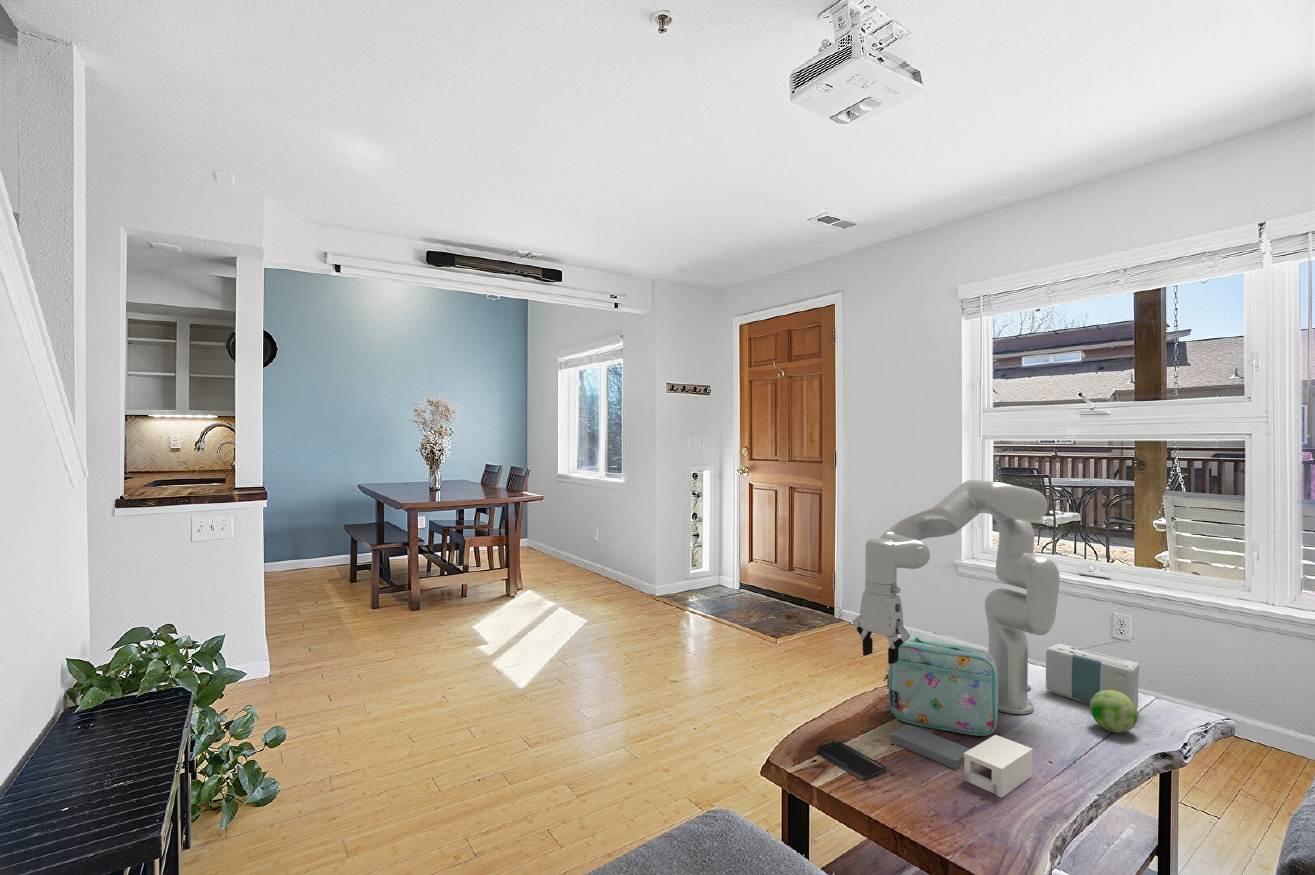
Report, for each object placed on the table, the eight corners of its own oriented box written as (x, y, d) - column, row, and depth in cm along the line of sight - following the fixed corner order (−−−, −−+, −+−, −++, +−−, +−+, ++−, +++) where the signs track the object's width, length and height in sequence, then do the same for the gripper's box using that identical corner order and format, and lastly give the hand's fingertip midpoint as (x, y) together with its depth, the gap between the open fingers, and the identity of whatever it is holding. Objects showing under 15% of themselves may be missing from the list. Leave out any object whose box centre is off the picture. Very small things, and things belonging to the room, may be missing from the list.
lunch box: (881, 721, 167) (882, 639, 167) (887, 706, 176) (888, 628, 176) (997, 745, 154) (998, 656, 154) (997, 727, 164) (998, 643, 163)
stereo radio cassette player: (1044, 693, 185) (1045, 624, 185) (1056, 686, 190) (1057, 619, 189) (1130, 720, 168) (1131, 644, 168) (1141, 712, 173) (1143, 638, 173)
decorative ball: (1140, 730, 162) (1141, 691, 162) (1133, 744, 155) (1133, 703, 155) (1094, 718, 169) (1094, 680, 169) (1085, 730, 162) (1085, 691, 162)
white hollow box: (995, 760, 147) (995, 734, 147) (1032, 776, 141) (1032, 748, 140) (963, 780, 139) (963, 753, 139) (1001, 798, 132) (1002, 769, 132)
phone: (837, 740, 155) (889, 768, 142) (837, 745, 155) (889, 773, 142) (813, 748, 151) (864, 778, 138) (813, 753, 151) (864, 783, 138)
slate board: (909, 734, 161) (909, 724, 161) (973, 760, 148) (973, 750, 148) (891, 743, 156) (891, 734, 156) (955, 771, 143) (956, 761, 143)
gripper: (920, 593, 158) (920, 665, 158) (860, 579, 172) (860, 646, 172) (903, 598, 153) (902, 672, 154) (842, 583, 167) (842, 652, 168)
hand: (880, 658), depth 163 cm, fingers open, 6 cm apart
